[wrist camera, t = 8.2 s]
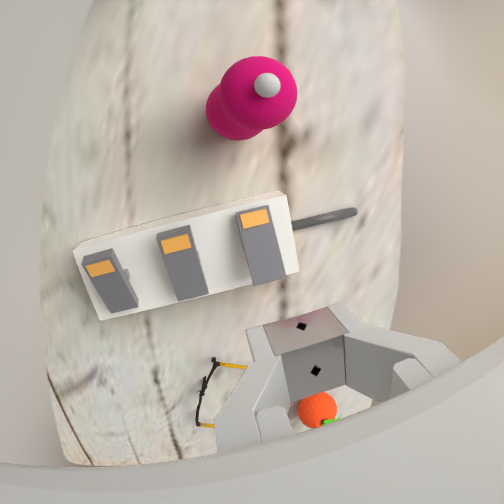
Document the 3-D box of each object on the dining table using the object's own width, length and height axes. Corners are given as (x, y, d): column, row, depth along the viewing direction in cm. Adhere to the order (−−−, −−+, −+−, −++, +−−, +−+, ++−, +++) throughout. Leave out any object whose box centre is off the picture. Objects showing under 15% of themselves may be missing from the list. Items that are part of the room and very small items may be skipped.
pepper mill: (218, 149, 39) (240, 152, 20) (195, 98, 36) (197, 54, 18) (271, 128, 39) (337, 115, 20) (249, 77, 36) (297, 23, 18)
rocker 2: (156, 233, 35) (155, 238, 33) (189, 224, 35) (190, 229, 34) (178, 295, 39) (178, 302, 37) (208, 287, 39) (209, 294, 38)
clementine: (339, 383, 55) (354, 408, 48) (327, 409, 57) (340, 434, 50) (299, 384, 53) (311, 411, 46) (289, 411, 55) (299, 438, 48)
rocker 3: (235, 214, 38) (235, 212, 36) (266, 206, 38) (268, 204, 36) (252, 284, 38) (254, 285, 36) (284, 276, 38) (286, 277, 36)
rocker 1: (83, 256, 33) (81, 265, 32) (112, 247, 33) (110, 256, 32) (112, 305, 38) (111, 314, 37) (138, 299, 39) (138, 308, 38)
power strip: (82, 241, 39) (69, 254, 34) (350, 175, 43) (368, 180, 38) (106, 307, 43) (98, 326, 38) (358, 243, 46) (375, 254, 41)
